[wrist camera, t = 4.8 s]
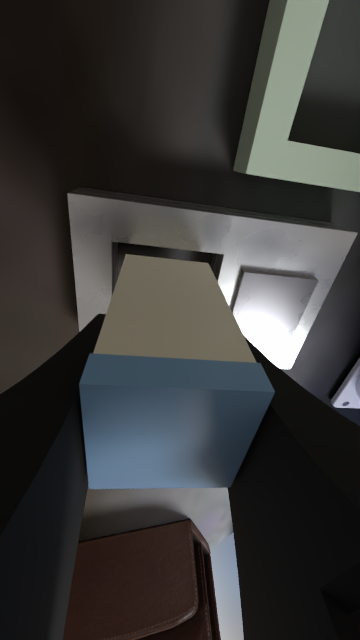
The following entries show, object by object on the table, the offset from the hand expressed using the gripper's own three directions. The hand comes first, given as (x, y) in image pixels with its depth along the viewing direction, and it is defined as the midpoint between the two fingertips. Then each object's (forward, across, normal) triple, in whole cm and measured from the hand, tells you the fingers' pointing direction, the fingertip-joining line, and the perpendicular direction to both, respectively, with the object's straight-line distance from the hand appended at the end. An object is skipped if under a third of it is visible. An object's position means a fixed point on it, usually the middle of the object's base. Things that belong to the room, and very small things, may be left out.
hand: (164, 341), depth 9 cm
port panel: (+5, -2, 0) cm, 6 cm away
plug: (+3, 0, 0) cm, 3 cm away
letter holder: (+6, 0, +39) cm, 40 cm away
